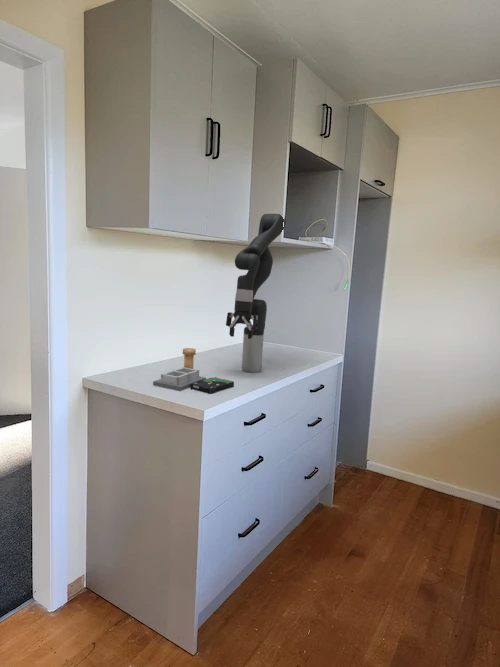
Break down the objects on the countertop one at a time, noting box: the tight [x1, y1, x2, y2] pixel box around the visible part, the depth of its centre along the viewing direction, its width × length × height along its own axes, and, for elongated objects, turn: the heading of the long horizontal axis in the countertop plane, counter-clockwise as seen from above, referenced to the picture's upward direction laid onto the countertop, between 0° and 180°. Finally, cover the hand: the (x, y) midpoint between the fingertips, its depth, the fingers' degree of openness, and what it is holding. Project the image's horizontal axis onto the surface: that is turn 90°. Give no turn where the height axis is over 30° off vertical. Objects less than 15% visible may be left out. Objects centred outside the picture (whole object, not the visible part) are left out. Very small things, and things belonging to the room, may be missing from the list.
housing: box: [152, 366, 207, 392], centre depth 178 cm, size 18×13×4 cm
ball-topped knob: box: [182, 347, 197, 369], centre depth 192 cm, size 6×6×11 cm
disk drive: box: [190, 376, 235, 395], centre depth 174 cm, size 10×3×15 cm
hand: (240, 337), depth 192 cm, fingers open, 8 cm apart
